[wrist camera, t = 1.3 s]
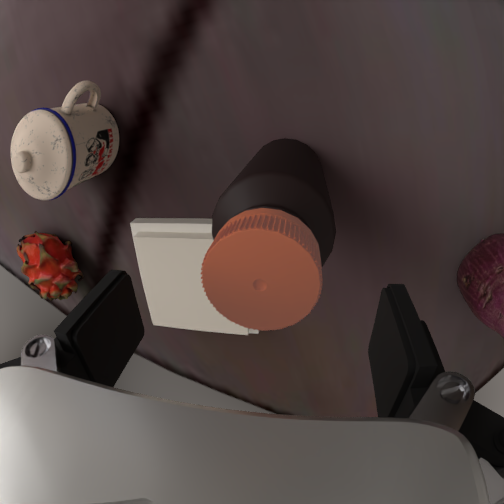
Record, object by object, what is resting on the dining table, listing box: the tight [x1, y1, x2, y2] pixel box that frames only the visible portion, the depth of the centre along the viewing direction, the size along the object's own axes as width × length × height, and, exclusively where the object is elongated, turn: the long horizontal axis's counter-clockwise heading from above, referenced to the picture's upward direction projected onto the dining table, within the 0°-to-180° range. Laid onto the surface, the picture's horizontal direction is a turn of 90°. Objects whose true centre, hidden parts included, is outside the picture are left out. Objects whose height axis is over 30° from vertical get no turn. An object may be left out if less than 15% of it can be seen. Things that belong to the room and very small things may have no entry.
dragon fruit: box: [17, 231, 84, 301], centre depth 36 cm, size 8×8×12 cm
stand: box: [130, 218, 259, 335], centre depth 36 cm, size 14×14×3 cm
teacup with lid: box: [11, 81, 119, 200], centre depth 26 cm, size 12×9×12 cm
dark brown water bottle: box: [201, 139, 336, 331], centre depth 21 cm, size 7×7×20 cm
